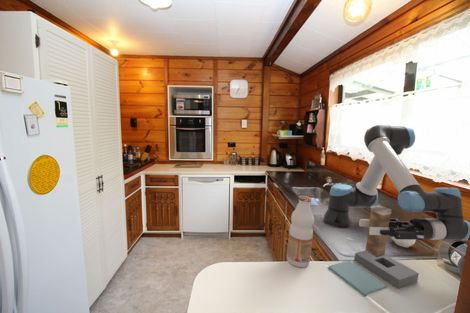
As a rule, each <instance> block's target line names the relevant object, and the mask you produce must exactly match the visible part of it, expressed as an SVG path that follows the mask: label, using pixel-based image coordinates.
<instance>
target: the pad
mask: <svg viewBox="0 0 470 313" xmlns="http://www.w3.org/2000/svg"><path fill="white" fill-rule="evenodd" d="M327 267H328V270H329V271H331V272H333V274H335V275H336V276H337V277H338V278H340V279H341V280H342V281H343V282H345V283H346V284H348V285H349V286H350V287H351V288H353V289H354V290H355V291H357V292H358V293H359V294H361V295H362V296H363V297H367V296H368V295H370V294H372V293H375V292H377V291H380V290H383V289H386V288H387V287H388V285H386V284H385V283H383V282H382V281H381V280H380V279H378V278H376V277H375V276H373V275H371V274H370V273H369V272H367V271H366V270H364V269H363V268H361V267H359V266H358V265H357V264H355V263H354V262H352V261H350V260H347V261H346V260H345V261H343V262H338V263H335V264H331V265H328V266H327Z"/></svg>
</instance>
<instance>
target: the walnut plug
mask: <svg viewBox="0 0 470 313" xmlns="http://www.w3.org/2000/svg"><path fill="white" fill-rule="evenodd" d="M391 214H392V209H391V208H388V207H385V206H382V205H378V204H376V205H375V206H372V207H370V216H369V219H370V221H369V227H367V228H368V230H367V236H366V237H367V238H366V245H365V250H366V252H368V253H370V254H371V255H373V256H375V257H380V256H383V255H386V253H385V252H386V247H387V241H388V240H387V239H388V235H370V234H369V230H370V227H388V228H389V221H390V218H391ZM389 229H390V228H389Z"/></svg>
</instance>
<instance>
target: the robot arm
mask: <svg viewBox="0 0 470 313" xmlns="http://www.w3.org/2000/svg"><path fill="white" fill-rule="evenodd" d="M363 137H364V138H363V141H364V145H365V146H366V148H367V150H368V151H369V152H371V153H373V155H374V156H373V158H372V160H371V162H370V164H369V165H368V167H367V169H366V172H365V174H364V175H363V176H362V179H361V181H359V182H356V184H355V185H354V187H353V186H352V185H350V184H344V183H337V184H333V185H332V186H331V187H330V191H329V199H328V205H327V209H326V211H325V214H324V215H323V221H324V223H325V224H327V225H329V226H331V227H335V228H339V229H347V228H350V227H351V223H352V222H351V219H350V208H363V209H366V208H367V209H368V208H371V207H372V206H377V205H378V201H379V192H378V189H377V188H378V186H379V185H380V183H381V181H382V180H383V178H384V176H385V175H387V176H388V178H389V179H390V181H391V182H392V184H393V186H394V188H395V189H396V190H397V192H398V195H397V202H398V205H399V207H400V208H401V209H402V210H404V211H407V212H414V213H419V212H420V213H423V212H424V213H435V214H436V218H421V217H419V218H418V217H417V218H416V217H415V218H412V219H410V220H409V221H407V220H400V218H399V217H390V221H389V228H388V227H370V230H369V234H370V235H387V236H389V237H391V238H392V237H394V238H395V239H416V241H424V240H431V241H433V240H437V241H438V240H439V241H456V242H459V241H461V242H462V241H469V240H468V238H469V235H470V222H469V221H468V220H465V217H464V209H463V202H462V200H463V199H462V195H461V191H460V189H459V188H457V187H434V189H433V191H425V189H423V187H422V186H421V184H420V183H419V182H418V181H417V179H416V178H415V177H414V175H413V174H412V172H411V171H410V169H408V167H407V165H406V164H405V163H404V162H403V160H402V159H401V157H400V155H401V154H402V153H403V151H404V149H406V150H407V149H409V148H412V146H414V143H415V141H416V134H415V131H414V129H413V128H412V127H410V126H409V125H406V124H400V123H399V124H395V123H394V124H393V123H383V122H380V123H379V122H378V123H374V124H372V125H371V126H369V127H368V128H367V129H366V131H365V133H364V136H363ZM369 221H370V218H368V219H367V218H360V219H359V222H358V226H359V227H364V228H365V227H367V228H369ZM399 236H400V237H399Z"/></svg>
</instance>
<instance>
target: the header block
mask: <svg viewBox="0 0 470 313" xmlns="http://www.w3.org/2000/svg"><path fill="white" fill-rule="evenodd" d="M353 258H354V259H353V260H354V262H355V263H357V264H359V265H360V266H362V267H363V268H365V269H366V270H368V271H369V272H371V273H373V274H374V275H375V276H377V277H378V278H380V279H382V280H383V281H385V282H387V284H389V285H391V286H392V287H394V288H395V289H402V288H405V287H406V286H407V287H408V286H409V285H412V284H415V283H417V282H418V279H419V275H420V272H417V271H416V270H414V269H412V268H410V267H409V266H407V265H405V264H403V263H401V262H399V261H397V260H396V259H394V258H392V257H390V256H388V255H387V254H385V255H383V256H380V257H375V256H373V255H371V254H370V253H368V252H366V249H365V250H362V251H358V252H355V253H354V257H353Z"/></svg>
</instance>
